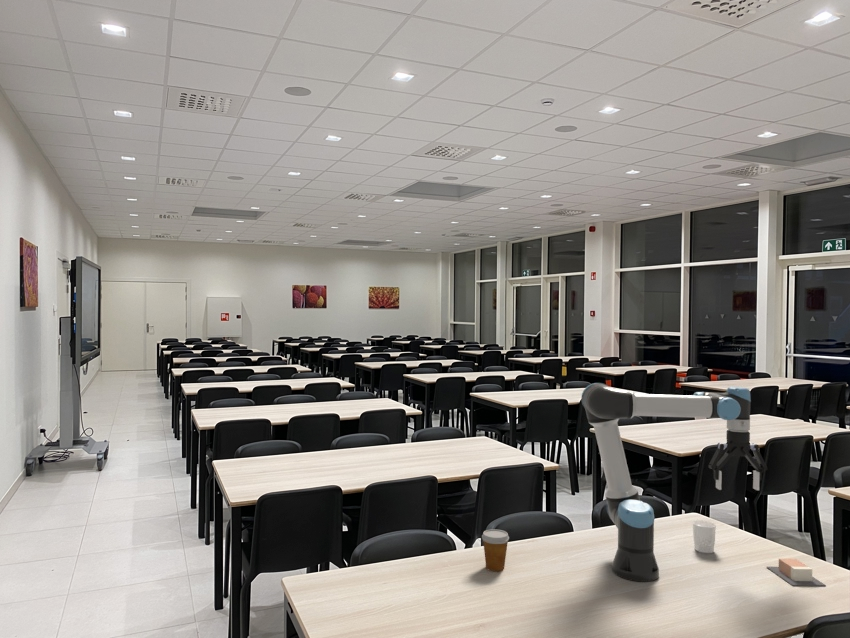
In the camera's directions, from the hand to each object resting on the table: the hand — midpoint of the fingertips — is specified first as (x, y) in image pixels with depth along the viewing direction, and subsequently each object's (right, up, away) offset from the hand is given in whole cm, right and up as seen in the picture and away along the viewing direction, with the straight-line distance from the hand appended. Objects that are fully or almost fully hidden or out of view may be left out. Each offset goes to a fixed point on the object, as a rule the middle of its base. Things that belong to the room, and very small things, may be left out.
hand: (737, 489), depth 220 cm
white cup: (-7, -27, +12) cm, 30 cm away
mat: (+14, -27, -12) cm, 32 cm away
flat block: (+14, -26, -12) cm, 32 cm away
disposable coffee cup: (-88, -26, -8) cm, 92 cm away
